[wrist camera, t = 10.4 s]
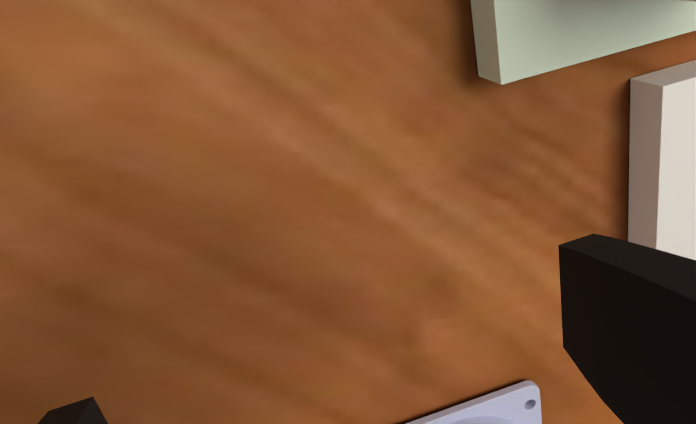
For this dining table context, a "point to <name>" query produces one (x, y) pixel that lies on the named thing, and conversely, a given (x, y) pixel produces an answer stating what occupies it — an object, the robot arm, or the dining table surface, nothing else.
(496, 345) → the dining table surface
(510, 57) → the stand
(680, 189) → the stand
